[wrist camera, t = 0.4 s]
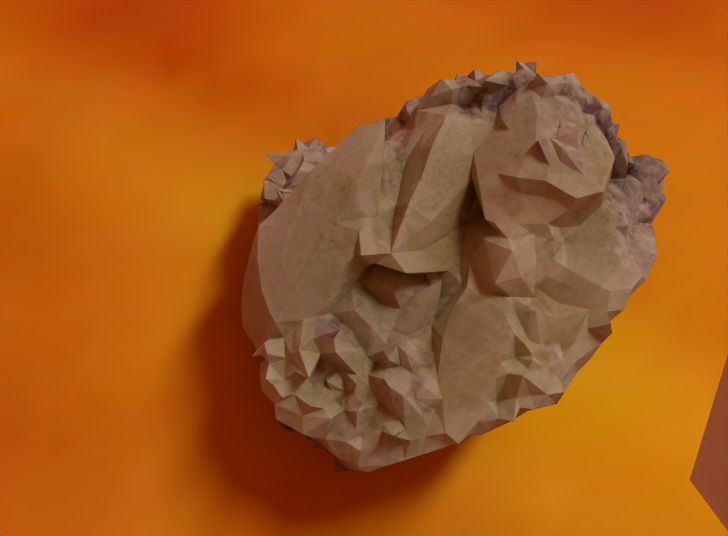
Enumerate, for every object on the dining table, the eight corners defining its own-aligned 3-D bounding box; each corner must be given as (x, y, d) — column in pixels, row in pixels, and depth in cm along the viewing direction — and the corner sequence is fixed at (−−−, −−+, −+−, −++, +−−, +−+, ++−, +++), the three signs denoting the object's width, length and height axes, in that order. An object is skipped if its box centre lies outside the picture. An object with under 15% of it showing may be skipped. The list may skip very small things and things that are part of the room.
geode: (222, 333, 32) (502, 479, 30) (116, 391, 23) (508, 605, 21) (367, -1, 29) (688, 141, 27) (311, -89, 20) (790, 118, 18)
